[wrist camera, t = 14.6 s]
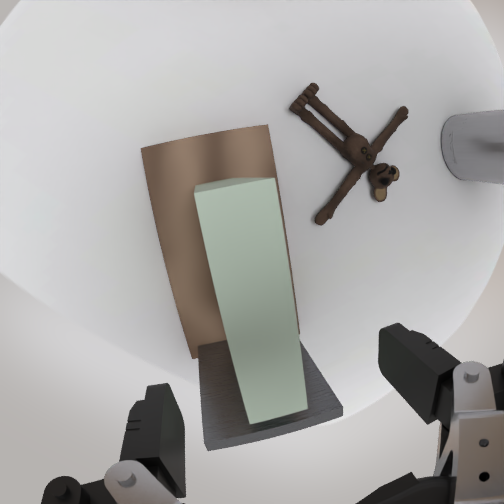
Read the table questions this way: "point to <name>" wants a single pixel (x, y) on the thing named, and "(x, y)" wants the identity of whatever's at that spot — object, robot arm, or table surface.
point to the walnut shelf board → (187, 220)
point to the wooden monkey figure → (350, 149)
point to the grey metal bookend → (233, 409)
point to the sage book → (254, 292)
